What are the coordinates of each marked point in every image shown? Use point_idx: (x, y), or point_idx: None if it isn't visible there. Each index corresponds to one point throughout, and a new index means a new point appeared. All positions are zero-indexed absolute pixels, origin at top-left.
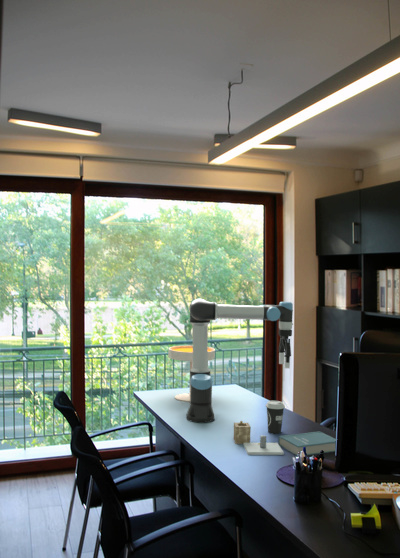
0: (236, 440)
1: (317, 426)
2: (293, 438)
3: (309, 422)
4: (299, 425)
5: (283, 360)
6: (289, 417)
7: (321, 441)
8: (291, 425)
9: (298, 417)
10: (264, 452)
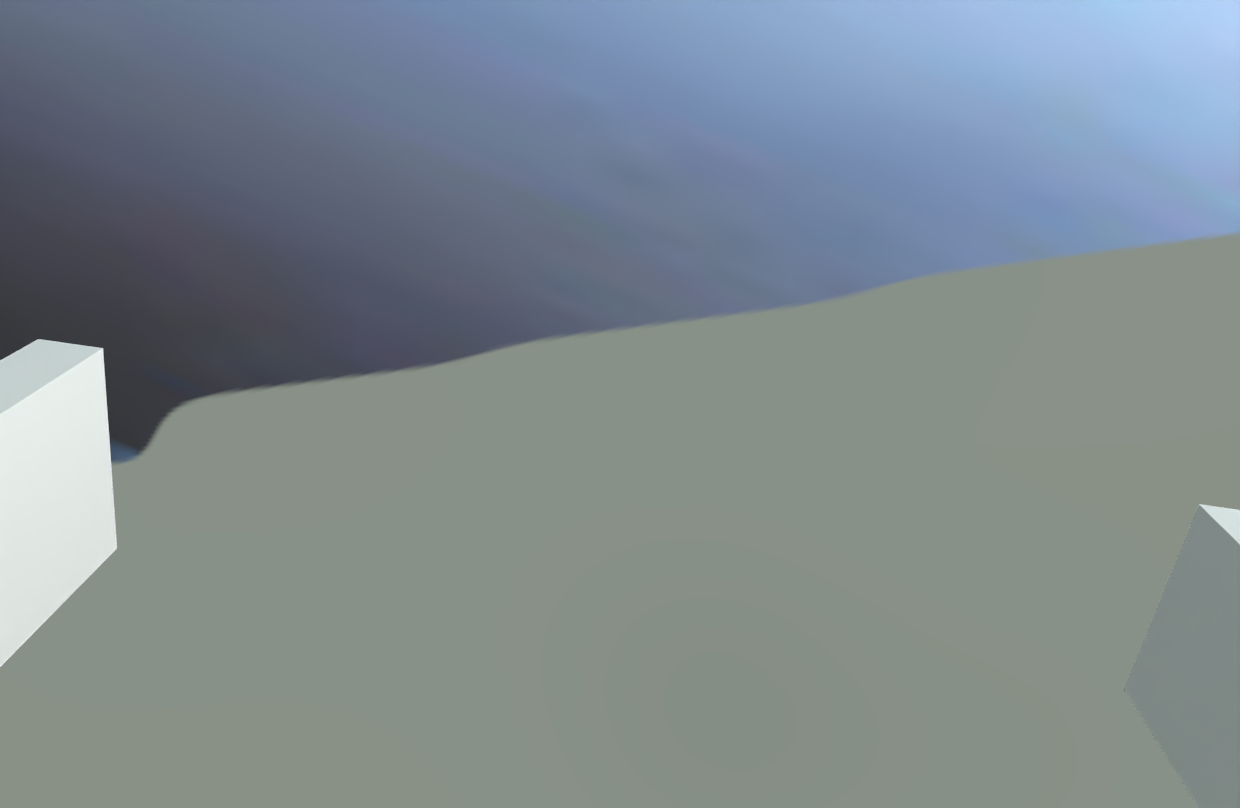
0: None
1: None
2: None
3: (205, 361)
4: (54, 170)
5: (1212, 794)
6: (453, 186)
7: None
8: (43, 51)
9: (445, 315)
10: None
